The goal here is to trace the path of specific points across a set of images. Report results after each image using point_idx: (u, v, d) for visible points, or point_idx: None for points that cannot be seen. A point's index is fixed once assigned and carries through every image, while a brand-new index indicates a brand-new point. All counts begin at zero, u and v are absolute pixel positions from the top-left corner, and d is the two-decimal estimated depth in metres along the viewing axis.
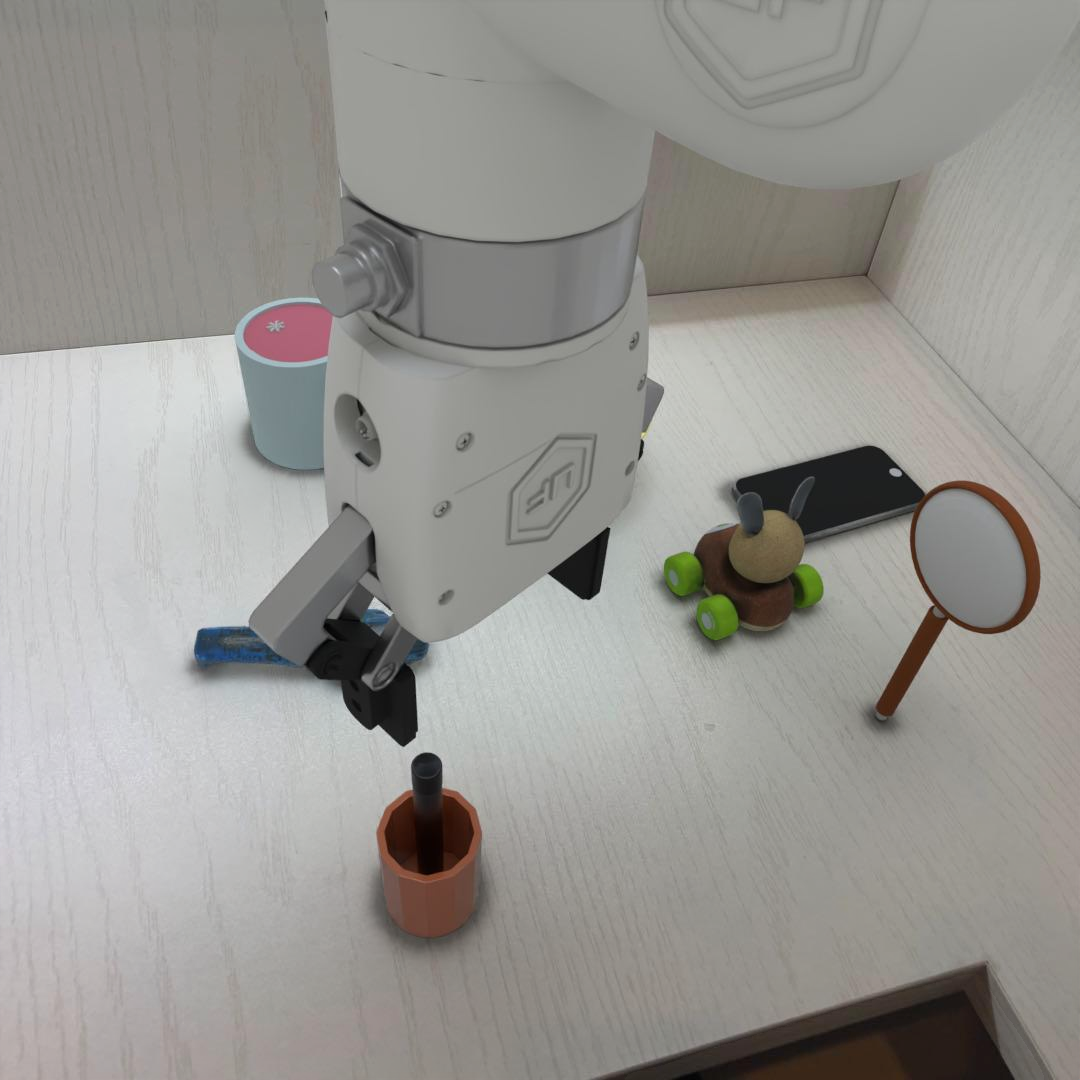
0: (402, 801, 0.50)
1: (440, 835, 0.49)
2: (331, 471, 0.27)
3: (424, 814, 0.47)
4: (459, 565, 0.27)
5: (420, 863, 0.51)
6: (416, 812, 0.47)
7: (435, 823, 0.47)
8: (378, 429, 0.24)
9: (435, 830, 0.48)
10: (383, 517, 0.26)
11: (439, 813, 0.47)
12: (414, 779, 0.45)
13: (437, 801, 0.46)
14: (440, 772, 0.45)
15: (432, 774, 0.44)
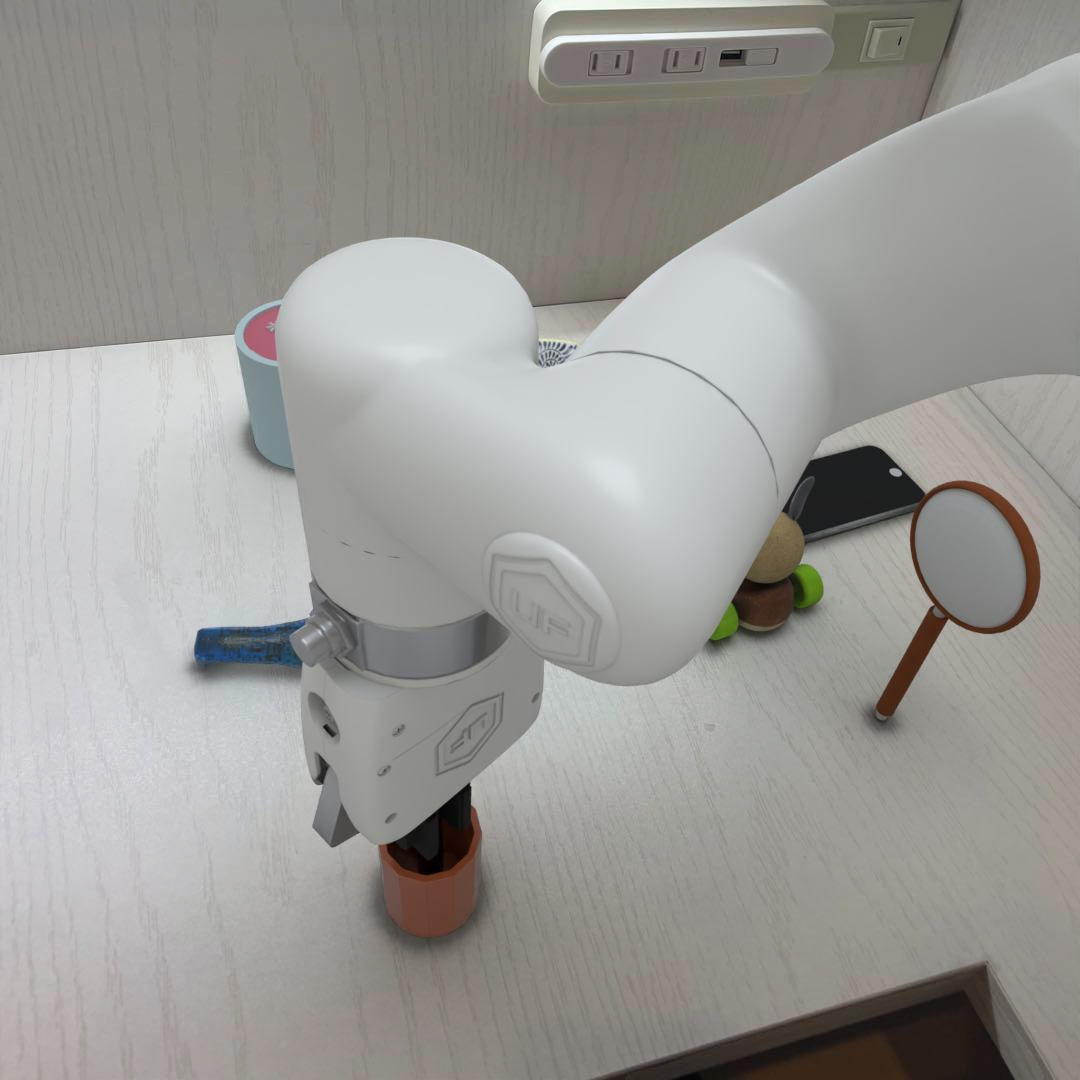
0: None
1: (440, 835, 0.49)
2: (306, 730, 0.38)
3: None
4: (399, 797, 0.38)
5: (420, 863, 0.51)
6: None
7: None
8: (337, 722, 0.35)
9: None
10: (343, 771, 0.37)
11: (439, 813, 0.47)
12: None
13: None
14: None
15: None
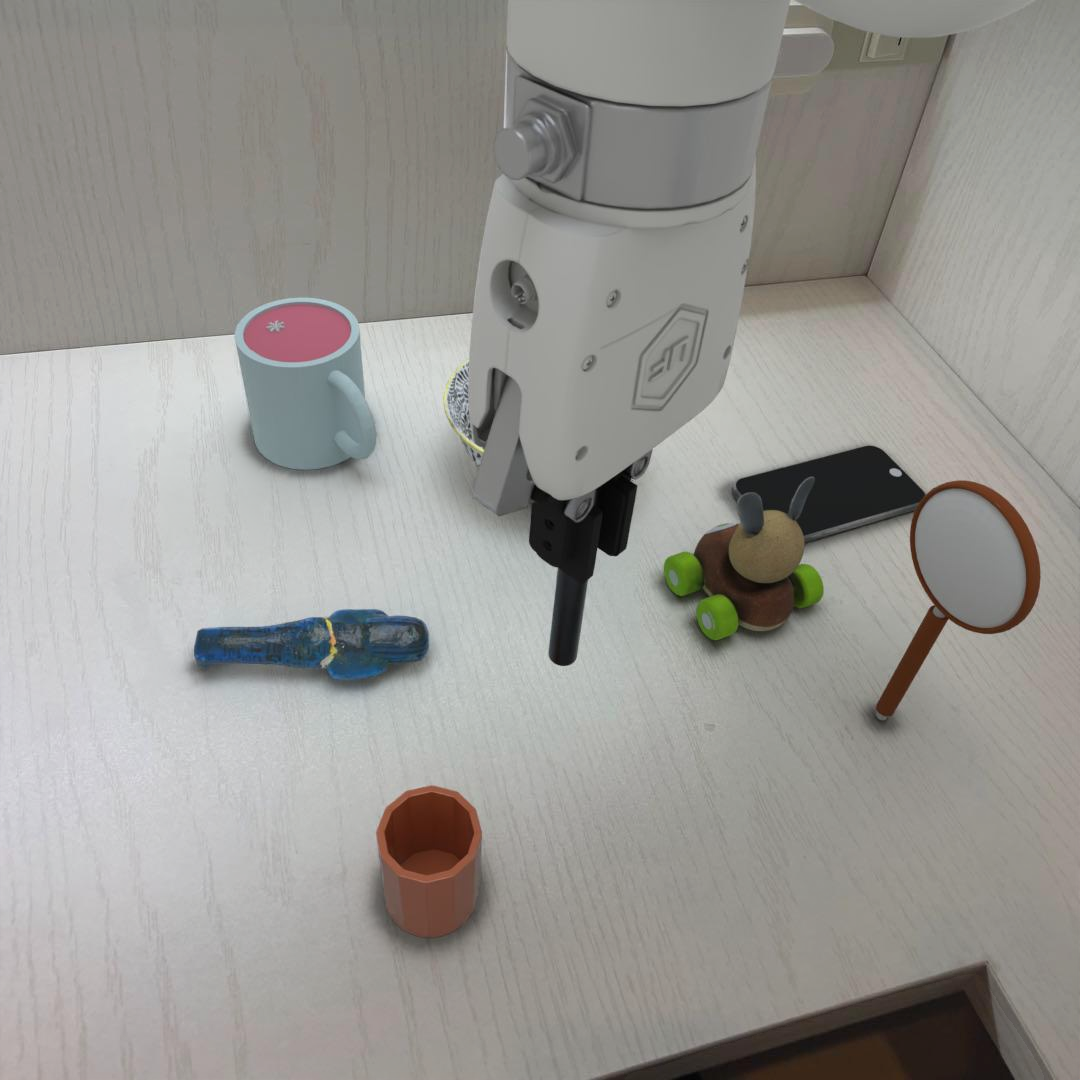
0: (402, 801, 0.50)
1: None
2: (480, 340, 0.31)
3: None
4: (594, 421, 0.31)
5: (559, 609, 0.44)
6: None
7: None
8: (538, 288, 0.28)
9: None
10: (533, 374, 0.30)
11: None
12: None
13: (595, 505, 0.39)
14: None
15: None
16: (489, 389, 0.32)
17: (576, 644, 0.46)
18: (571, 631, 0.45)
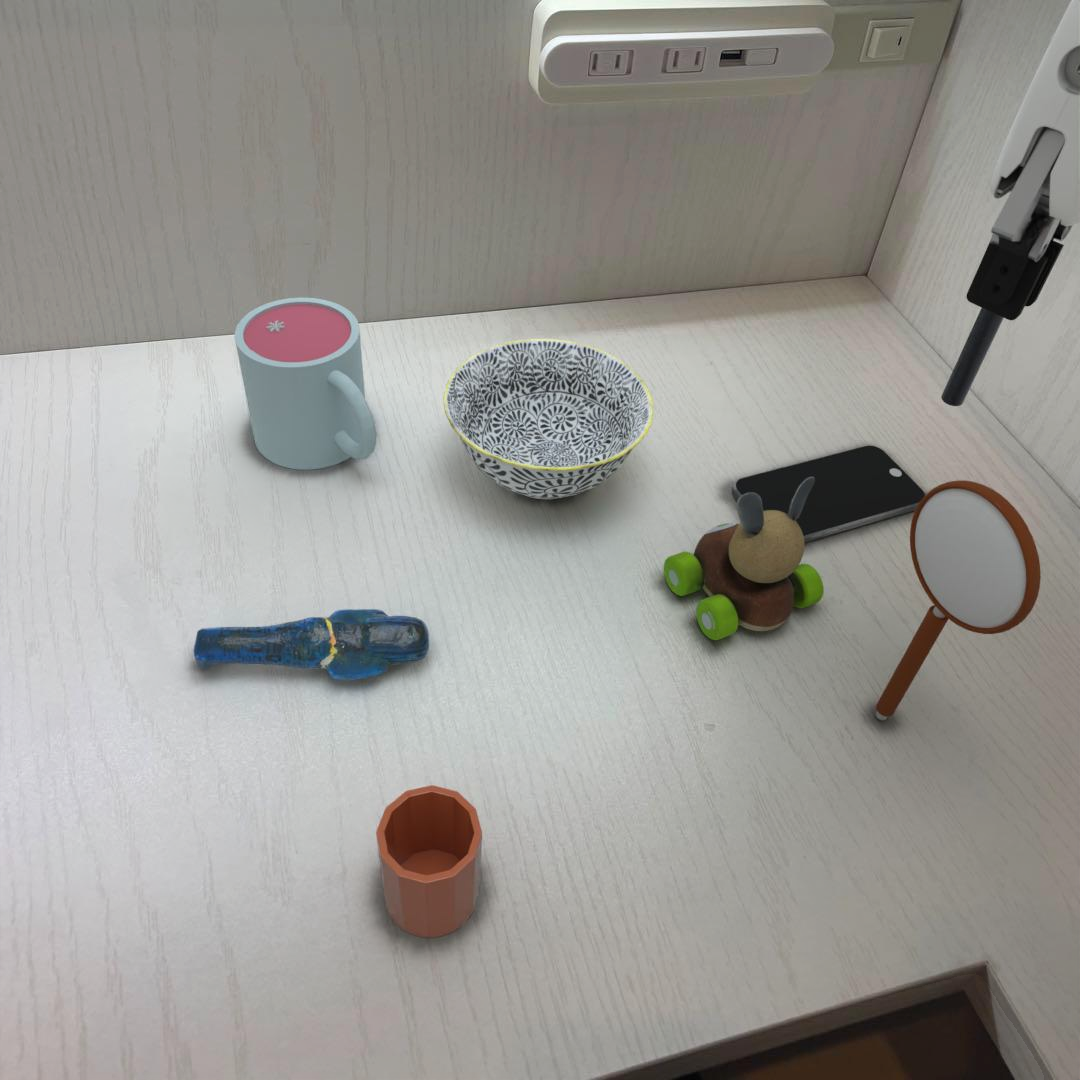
0: (402, 801, 0.50)
1: None
2: (1034, 108, 0.47)
3: None
4: None
5: (970, 353, 0.60)
6: None
7: None
8: None
9: None
10: None
11: None
12: None
13: None
14: None
15: None
16: (1029, 145, 0.48)
17: None
18: (973, 373, 0.61)
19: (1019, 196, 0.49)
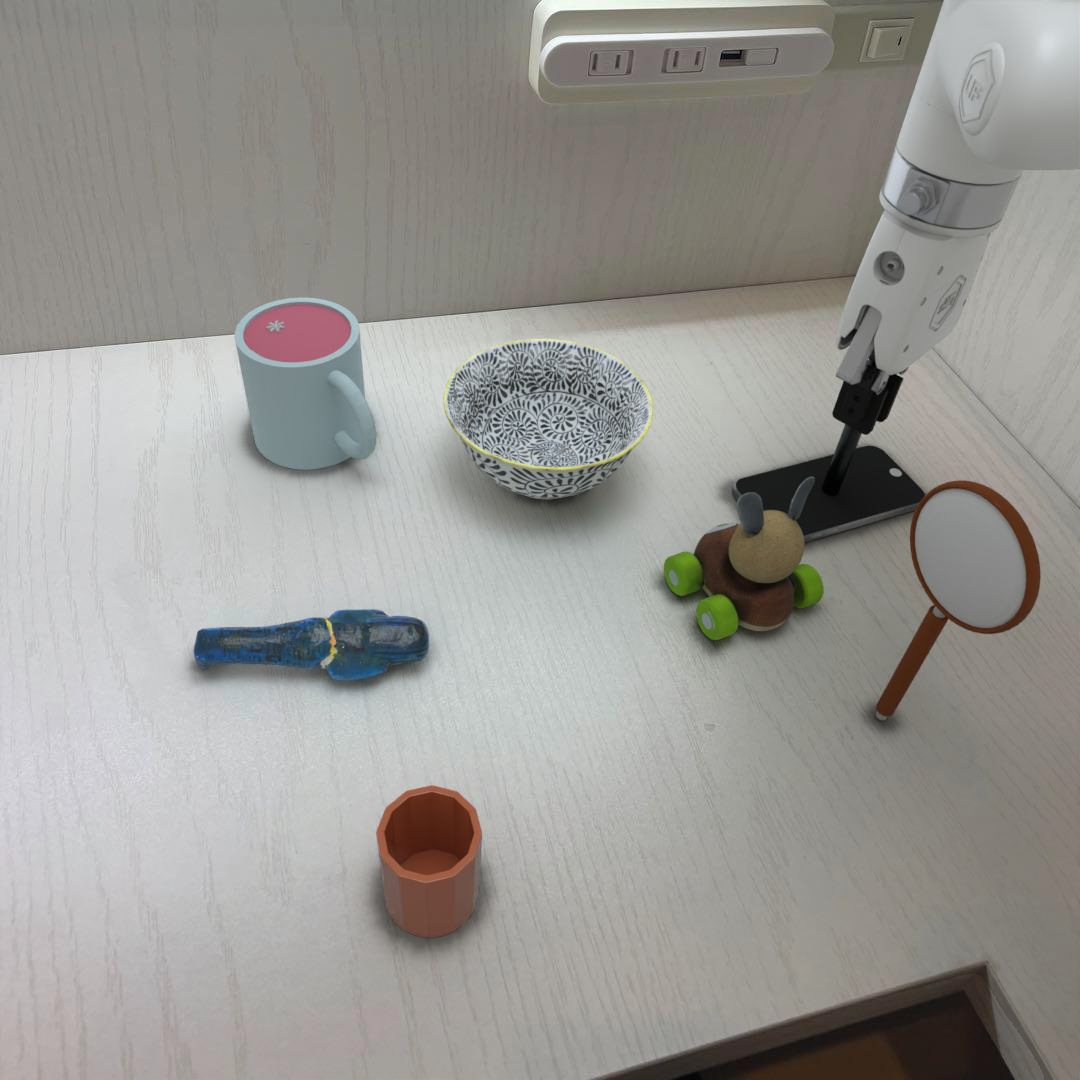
0: (402, 801, 0.50)
1: None
2: (859, 291, 0.62)
3: None
4: (915, 332, 0.62)
5: (840, 456, 0.75)
6: None
7: None
8: (905, 264, 0.59)
9: None
10: (892, 307, 0.61)
11: None
12: None
13: None
14: None
15: None
16: (858, 316, 0.63)
17: (842, 480, 0.77)
18: (843, 470, 0.76)
19: (854, 352, 0.64)
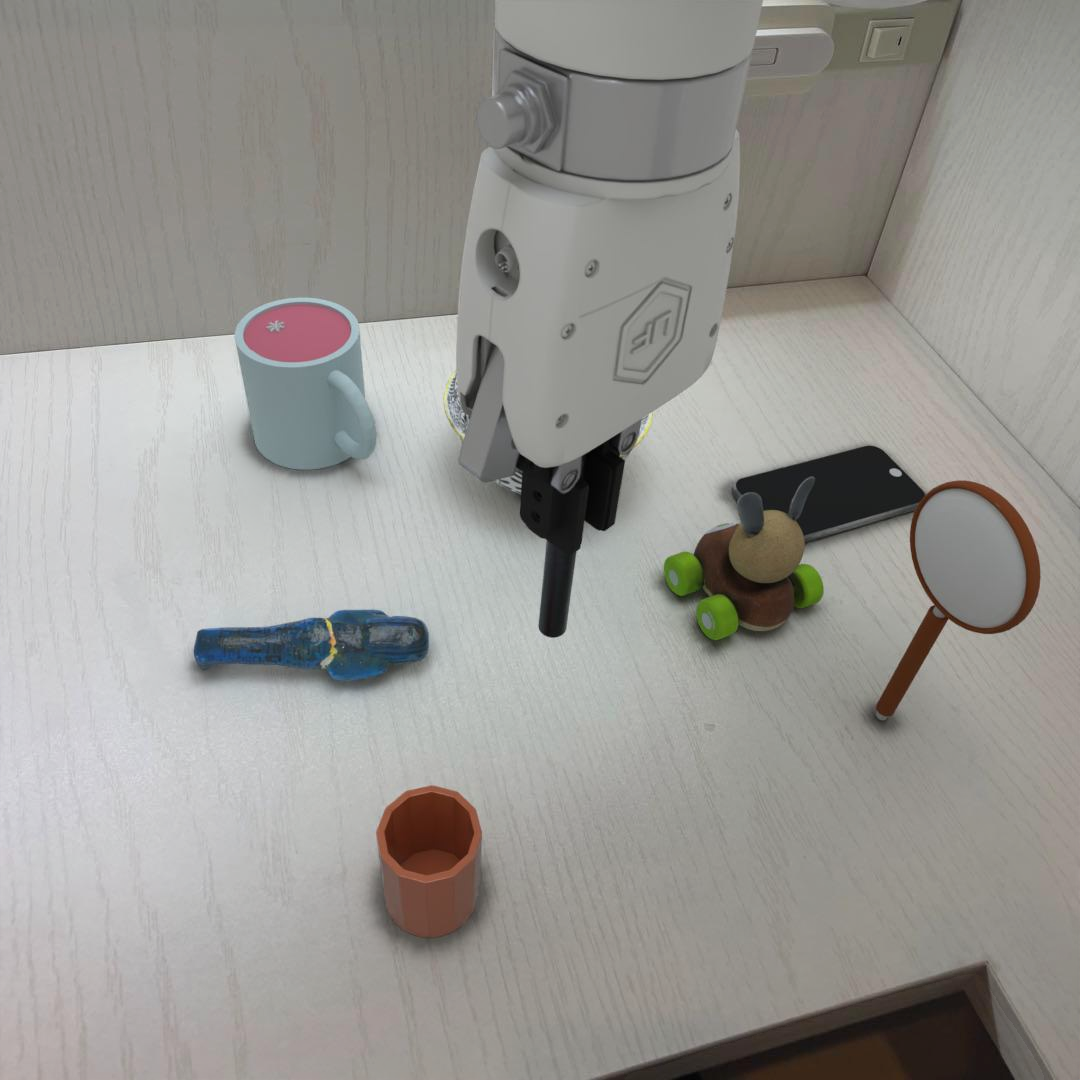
0: (402, 801, 0.50)
1: None
2: (466, 308, 0.32)
3: None
4: (575, 390, 0.32)
5: (548, 580, 0.45)
6: None
7: None
8: (519, 256, 0.29)
9: None
10: (515, 341, 0.31)
11: None
12: None
13: (582, 477, 0.40)
14: None
15: None
16: (475, 357, 0.33)
17: (565, 616, 0.47)
18: (559, 602, 0.46)
19: (479, 424, 0.34)
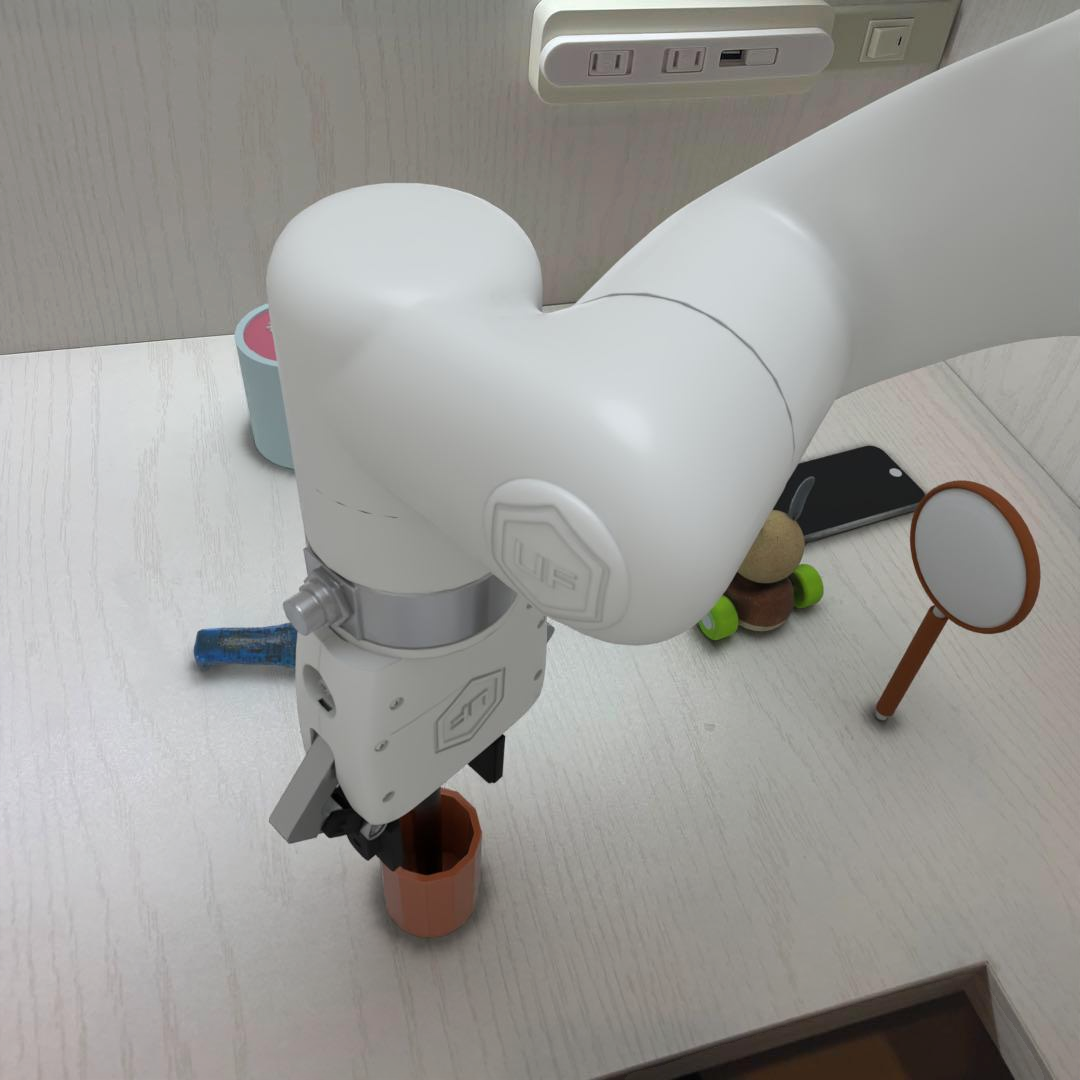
0: None
1: (438, 833, 0.49)
2: (301, 705, 0.36)
3: (422, 812, 0.47)
4: (397, 775, 0.37)
5: (419, 861, 0.51)
6: (415, 810, 0.47)
7: (434, 821, 0.47)
8: (333, 695, 0.33)
9: (433, 828, 0.48)
10: (339, 747, 0.35)
11: (437, 811, 0.47)
12: None
13: (435, 799, 0.46)
14: None
15: None
16: (313, 738, 0.37)
17: None
18: None
19: (297, 790, 0.37)
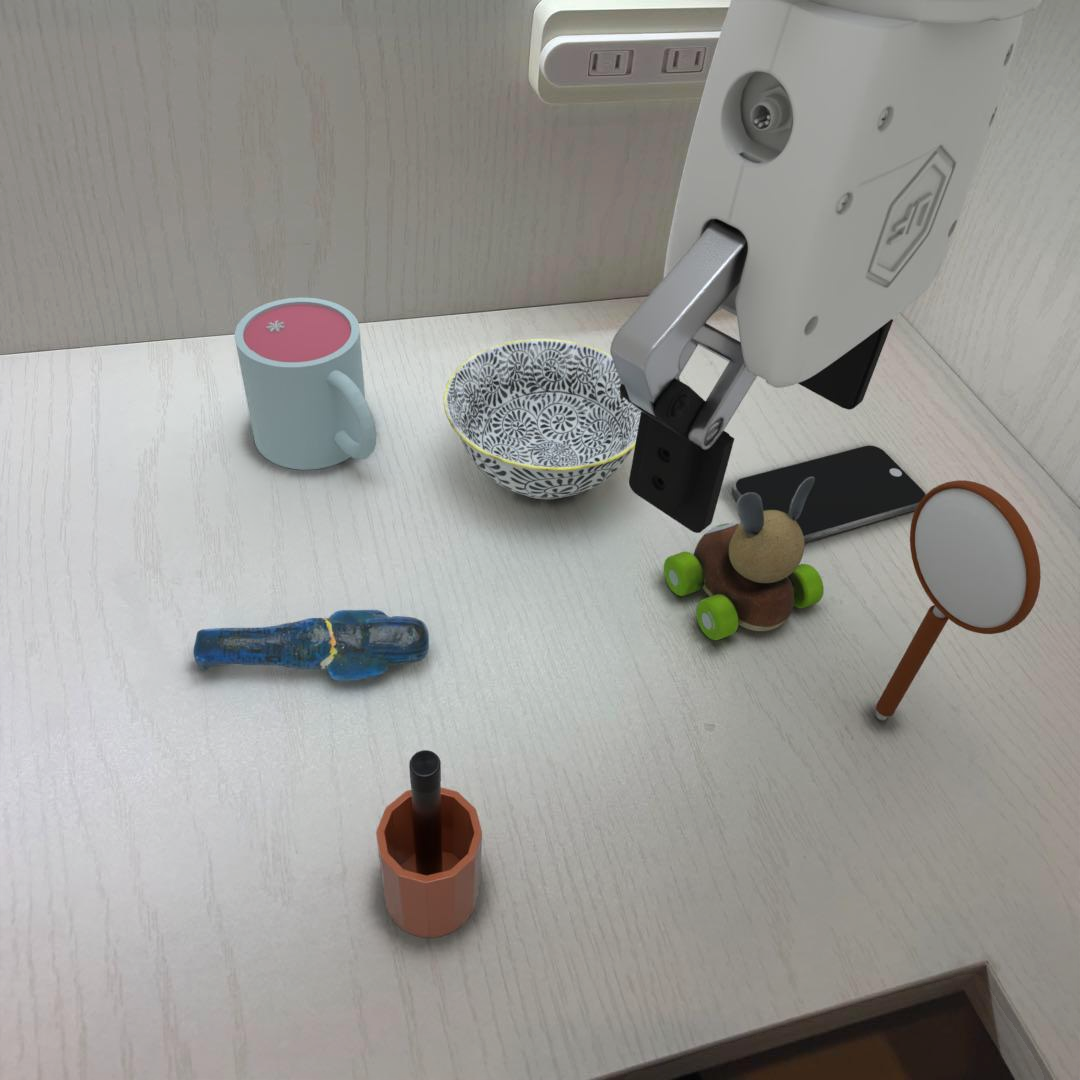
0: (402, 801, 0.50)
1: (438, 833, 0.49)
2: (696, 185, 0.26)
3: (422, 812, 0.47)
4: (832, 285, 0.26)
5: (419, 861, 0.51)
6: (415, 810, 0.47)
7: (434, 821, 0.47)
8: (795, 102, 0.23)
9: (433, 828, 0.48)
10: (769, 220, 0.25)
11: (437, 811, 0.47)
12: (412, 777, 0.45)
13: (435, 799, 0.46)
14: (438, 770, 0.45)
15: (430, 772, 0.44)
16: None
17: None
18: None
19: (671, 293, 0.25)
